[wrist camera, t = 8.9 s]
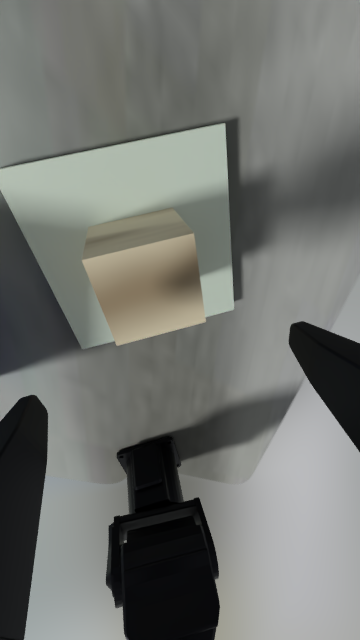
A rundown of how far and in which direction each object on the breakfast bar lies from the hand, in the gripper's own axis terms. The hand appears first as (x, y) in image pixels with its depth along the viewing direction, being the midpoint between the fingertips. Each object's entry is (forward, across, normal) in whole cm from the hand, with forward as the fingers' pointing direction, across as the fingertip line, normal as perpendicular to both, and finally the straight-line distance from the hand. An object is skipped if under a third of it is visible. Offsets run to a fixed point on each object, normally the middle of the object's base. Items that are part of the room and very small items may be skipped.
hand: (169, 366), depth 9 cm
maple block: (+10, 0, 0) cm, 10 cm away
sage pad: (+11, 0, 0) cm, 11 cm away
